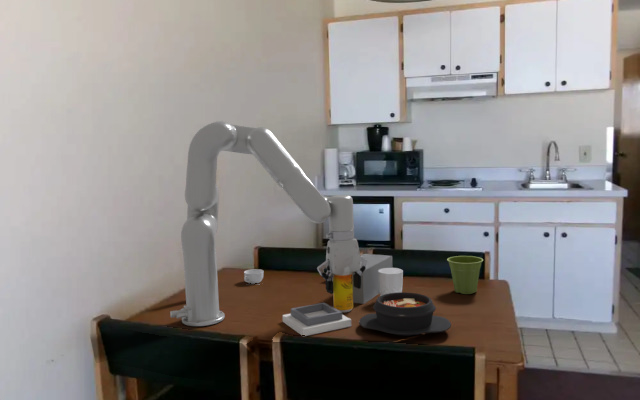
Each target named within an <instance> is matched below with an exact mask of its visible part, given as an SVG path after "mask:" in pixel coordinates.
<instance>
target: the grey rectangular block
mask: <svg viewBox="0 0 640 400" xmlns="http://www.w3.org/2000/svg"><path fill="white" fill-rule="evenodd" d="M360 257H361V258H363V259H366V260H367V261H368V262H367V265H366V267H365V270H364V272H363V274H362V276H361V288H360V289H358V288H356V287H354V280H353V304H361V305H364V304H366V303H368V302H369V301H370V300H372V299H373V298H375V297H376V296H377V295H380V288H379V274H378V270H380V269H383V268H394V267H393V255H387V254H385V255H384V254H374V253H372V254H371V253H363V254H360ZM354 274H355V273H354V272H352V276H353V275H354ZM332 281H333V278H332Z"/></svg>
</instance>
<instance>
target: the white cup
mask: <svg viewBox="0 0 640 400" xmlns="http://www.w3.org/2000/svg"><path fill="white" fill-rule="evenodd" d="M378 274H379V288H380V293H379V295H380V296H382V295H385V294H389V293H400V292H403V282H404V279H403V276H404V270H403V269H401V268H398V267H393V268H383V269H380V270H378ZM380 296H379V297H380Z"/></svg>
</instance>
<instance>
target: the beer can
mask: <svg viewBox="0 0 640 400" xmlns="http://www.w3.org/2000/svg"><path fill="white" fill-rule="evenodd" d="M333 292H334V293H333V294H332V295H333V297H332V298H333V308H335V309H337V310H339V311H341V312H342V313H349V312H352V309H354V303H353V276H352V272H350V267H348V266H347V267H346V268H344V273H343V274H339V275H336V274H335V275H334V276H333Z"/></svg>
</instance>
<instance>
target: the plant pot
mask: <svg viewBox="0 0 640 400" xmlns="http://www.w3.org/2000/svg"><path fill="white" fill-rule="evenodd" d="M446 261H447V262H448V264H449V265H448V267H449V268H450V271H451V272H450V273H451V277H452V284H453V289H454V292H455V293H460V294H462V295H472V294H474V293H477V291H478V284H479V277H480V272H481V271H480V270H481V268H482V264H483V261H484V259H483V258H482V257H479V256H473V255H458V256H457V255H456V256H450V257H448V258H447V259H446Z"/></svg>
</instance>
